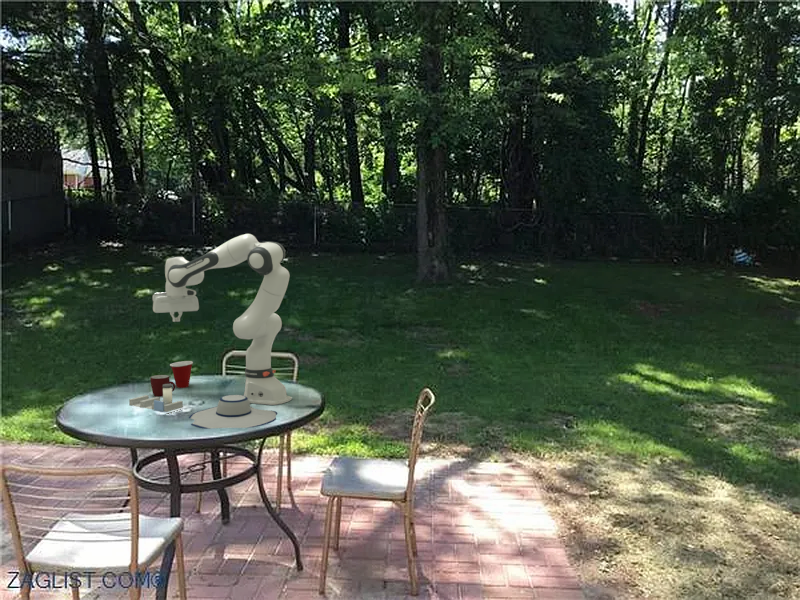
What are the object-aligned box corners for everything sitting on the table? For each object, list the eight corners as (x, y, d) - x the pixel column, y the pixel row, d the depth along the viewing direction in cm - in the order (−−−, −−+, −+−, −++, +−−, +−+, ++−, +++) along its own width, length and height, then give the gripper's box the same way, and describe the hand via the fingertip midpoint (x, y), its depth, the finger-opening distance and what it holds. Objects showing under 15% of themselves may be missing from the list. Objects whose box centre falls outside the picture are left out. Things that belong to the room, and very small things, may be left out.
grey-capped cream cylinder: (174, 407, 294) (174, 384, 293) (167, 409, 290) (167, 386, 289) (168, 406, 295) (167, 383, 294) (161, 408, 292) (160, 385, 291)
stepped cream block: (182, 410, 295) (182, 397, 294) (165, 415, 287) (165, 402, 286) (146, 404, 305) (145, 391, 305) (128, 408, 297) (128, 396, 296)
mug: (174, 395, 322) (173, 373, 321) (176, 398, 315) (176, 377, 314) (150, 397, 318) (149, 375, 317) (152, 401, 311) (151, 379, 310)
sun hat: (177, 415, 291) (177, 393, 290) (260, 404, 310) (259, 384, 309) (202, 436, 260) (202, 412, 259) (292, 423, 279) (292, 400, 278)
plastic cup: (170, 385, 343) (169, 361, 342) (193, 383, 346) (192, 360, 345) (170, 390, 333) (169, 365, 332) (193, 388, 336) (193, 364, 335)
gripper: (153, 293, 312) (154, 323, 313) (199, 291, 322) (200, 321, 324) (150, 292, 317) (151, 322, 318) (195, 290, 328) (196, 319, 329)
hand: (176, 321), depth 321 cm, fingers closed
